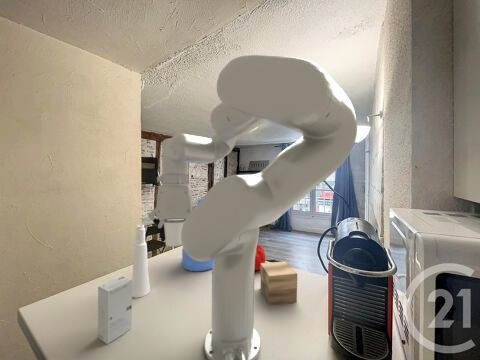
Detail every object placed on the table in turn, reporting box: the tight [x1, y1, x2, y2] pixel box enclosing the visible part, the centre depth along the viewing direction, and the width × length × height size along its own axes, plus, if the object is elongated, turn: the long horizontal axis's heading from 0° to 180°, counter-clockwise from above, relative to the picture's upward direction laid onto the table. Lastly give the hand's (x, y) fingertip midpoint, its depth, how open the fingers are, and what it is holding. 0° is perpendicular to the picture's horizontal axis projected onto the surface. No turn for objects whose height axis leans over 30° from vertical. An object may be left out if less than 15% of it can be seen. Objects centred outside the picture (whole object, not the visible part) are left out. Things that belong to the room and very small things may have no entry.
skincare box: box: [97, 276, 133, 345], centre depth 50 cm, size 6×4×12 cm
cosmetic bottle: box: [131, 224, 152, 299], centre depth 66 cm, size 6×6×22 cm
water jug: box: [181, 199, 214, 272], centre depth 88 cm, size 16×16×28 cm
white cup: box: [164, 219, 185, 247], centre depth 62 cm, size 7×7×7 cm
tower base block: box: [260, 277, 298, 306], centre depth 66 cm, size 9×9×4 cm
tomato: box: [254, 244, 266, 271], centre depth 85 cm, size 11×12×9 cm
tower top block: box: [260, 260, 298, 291], centre depth 66 cm, size 9×9×4 cm
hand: (175, 239), depth 62 cm, fingers closed on white cup, 6 cm apart
